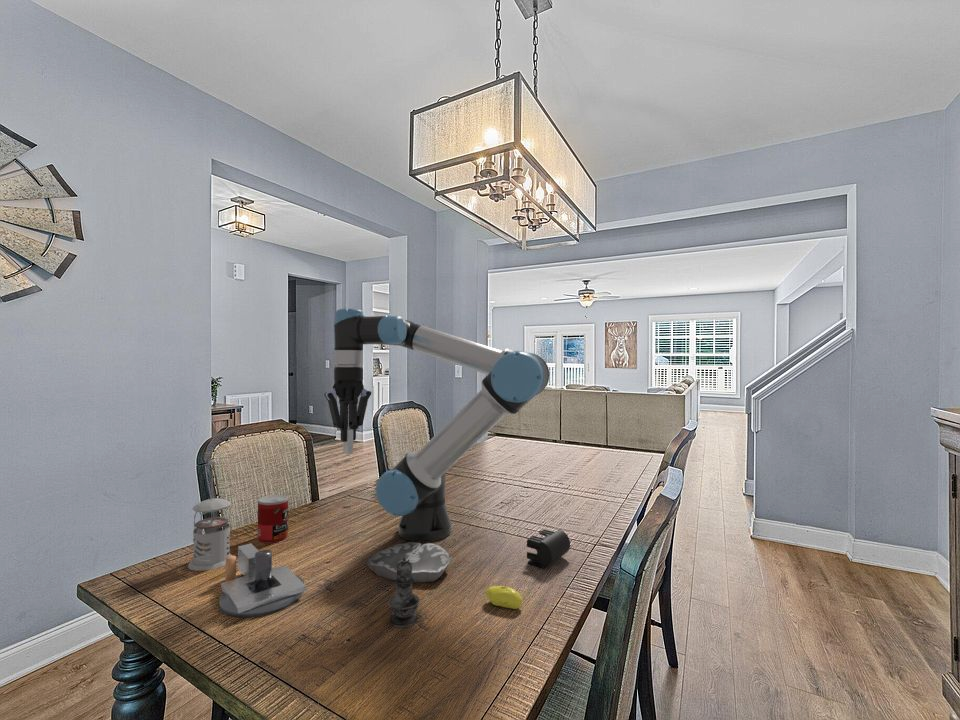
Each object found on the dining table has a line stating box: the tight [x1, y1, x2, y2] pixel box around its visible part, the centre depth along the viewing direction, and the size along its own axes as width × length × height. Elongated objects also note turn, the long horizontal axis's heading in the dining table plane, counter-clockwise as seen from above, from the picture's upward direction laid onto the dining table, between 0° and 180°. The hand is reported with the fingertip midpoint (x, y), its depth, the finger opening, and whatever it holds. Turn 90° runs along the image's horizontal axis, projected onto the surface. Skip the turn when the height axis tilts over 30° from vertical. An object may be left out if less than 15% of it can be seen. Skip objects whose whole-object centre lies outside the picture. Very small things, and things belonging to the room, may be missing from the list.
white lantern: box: [187, 459, 234, 572], centre depth 111 cm, size 10×12×25 cm
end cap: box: [526, 529, 571, 570], centre depth 112 cm, size 10×7×7 cm
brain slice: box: [367, 541, 453, 583], centre depth 108 cm, size 20×17×3 cm
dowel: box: [225, 555, 237, 582], centre depth 101 cm, size 2×2×6 cm
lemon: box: [484, 585, 523, 610], centre depth 92 cm, size 4×8×4 cm, turn 61°
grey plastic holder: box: [220, 542, 307, 613], centre depth 98 cm, size 20×13×5 cm, turn 42°
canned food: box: [257, 494, 290, 544], centre depth 126 cm, size 8×8×11 cm
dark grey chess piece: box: [388, 557, 421, 628], centre depth 87 cm, size 6×6×12 cm
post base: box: [218, 549, 305, 618], centre depth 95 cm, size 16×16×9 cm
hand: (348, 453), depth 123 cm, fingers closed
